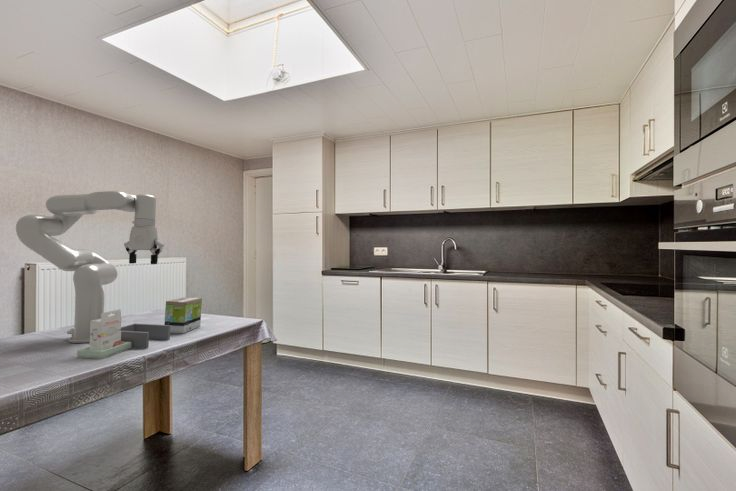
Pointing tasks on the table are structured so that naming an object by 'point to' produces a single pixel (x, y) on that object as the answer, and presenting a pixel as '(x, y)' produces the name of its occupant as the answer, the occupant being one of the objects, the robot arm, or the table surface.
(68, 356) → the table surface
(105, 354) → the tray
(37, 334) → the table surface
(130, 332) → the bay
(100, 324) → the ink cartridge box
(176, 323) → the tea box
